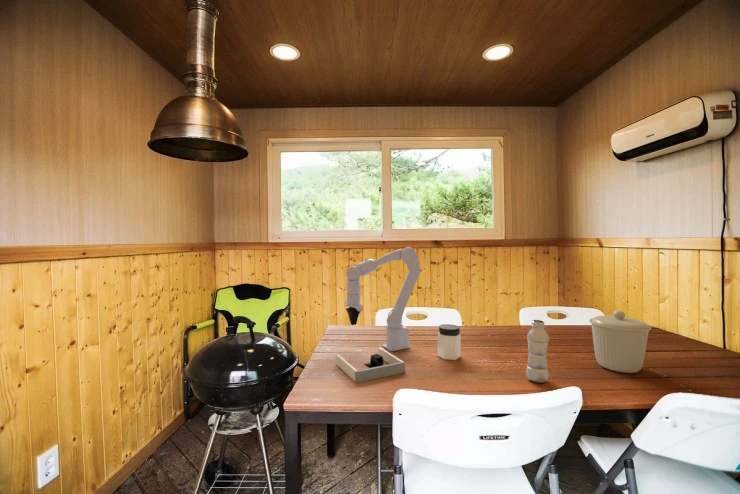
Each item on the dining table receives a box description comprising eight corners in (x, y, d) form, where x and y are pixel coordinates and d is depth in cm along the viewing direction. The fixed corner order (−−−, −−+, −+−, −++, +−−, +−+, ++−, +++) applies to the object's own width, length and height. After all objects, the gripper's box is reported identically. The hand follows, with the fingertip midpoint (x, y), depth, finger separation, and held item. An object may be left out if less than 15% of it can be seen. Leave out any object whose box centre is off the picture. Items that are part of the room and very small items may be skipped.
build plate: (395, 371, 118) (395, 359, 118) (378, 376, 114) (378, 363, 114) (374, 361, 128) (374, 349, 128) (358, 365, 124) (359, 352, 124)
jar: (464, 358, 129) (464, 328, 129) (446, 361, 127) (446, 330, 126) (451, 351, 138) (451, 323, 137) (434, 353, 135) (434, 324, 135)
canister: (634, 382, 109) (635, 318, 108) (578, 363, 125) (579, 308, 124) (660, 372, 117) (661, 313, 117) (604, 356, 133) (605, 304, 133)
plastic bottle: (521, 377, 112) (522, 318, 112) (540, 376, 113) (541, 318, 113) (532, 385, 106) (533, 323, 106) (552, 384, 107) (553, 323, 106)
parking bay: (380, 356, 132) (380, 347, 132) (405, 372, 116) (405, 362, 116) (336, 364, 124) (336, 354, 123) (356, 382, 107) (356, 372, 107)
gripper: (338, 291, 149) (338, 321, 149) (351, 297, 136) (351, 329, 136) (353, 290, 152) (353, 320, 152) (367, 295, 139) (367, 327, 139)
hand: (353, 324), depth 145 cm, fingers closed
